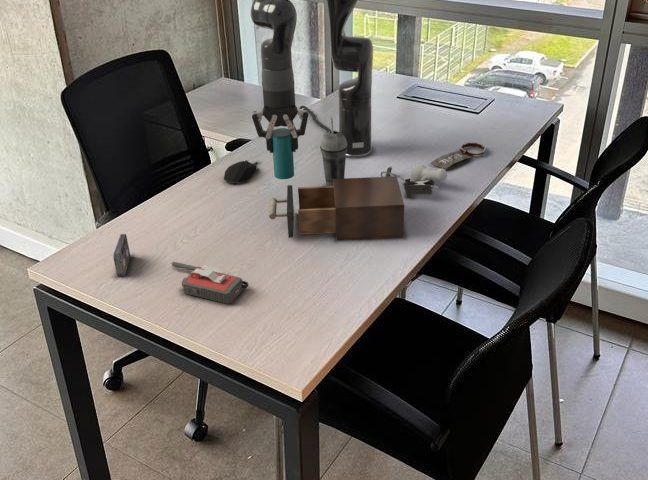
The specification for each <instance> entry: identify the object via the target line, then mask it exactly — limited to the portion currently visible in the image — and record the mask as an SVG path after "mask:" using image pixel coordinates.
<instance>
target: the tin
mask: <svg viewBox="0 0 648 480" xmlns="http://www.w3.org/2000/svg"><path fill="white" fill-rule="evenodd" d="M271 136H272V148H273V153H272V159H273V172H274V177H275V178H276V179H279V180H290V179H293V178H294V177H295V162H294V152H293V147H292V134H291V132H290V131H289V129H288V127H280V128H279V127H277V128H274V129H273V132H272V135H271Z"/></svg>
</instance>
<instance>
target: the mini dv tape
mask: <svg viewBox="0 0 648 480" xmlns="http://www.w3.org/2000/svg"><path fill="white" fill-rule="evenodd" d="M119 234H120V235H119V237H118V240H117V243H116V245H115V249H114V252H113V255H112V258H113V262H114V268H115V272H116V276H117V277H125V275H126V272H127V270H128V266H129V263H130V260H131V251H130V247H129V241H128V237H127V234H126V233H122V234H121V233H119Z"/></svg>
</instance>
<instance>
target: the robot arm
mask: <svg viewBox="0 0 648 480" xmlns="http://www.w3.org/2000/svg"><path fill="white" fill-rule="evenodd" d="M325 2H326V7H327V13H328V15H327V16H328V21H329V23H328V24H329V38H330V52H331V54H330V55H331V60H332V61H331V62H332V64H333V67H334V69H336V70H337V71H340V72H349V73H350V72H351V73H357V77H355V78H352V79H349V80H345V81H343V82H342V83H340V84H339V85H338V89H337V90H338V120H339V121H338V132H340V133H341V134H343V135H344V137H345V138H346V141H347V145H348V148H347V153H346V158H364V157H366V156H369V155H370V154H371V153H372V150H373V148H372V85H373V64H374V44H373V41H372V40H371V38H369V37H360V36H348V35H346V24H347V22H348V20H349V17H350V16H351V14H352V13H353V11H354V9H355V8H356V6H357V5H358V2H359V0H325ZM297 13H298V12H297V9H296V7H295V5H294V3H293V2H292V1H291V0H253V1H252V4H251V6H250V18H251V21H252V23H253V24H254V25H255V26H257V27H259V28H261V29H266V30H272V31H273V35H272V38H267V39H265V40H263V41H262V42H261V45H260V58H261V87H262V99H263V108H262V110H260V111H259V110H258V111H256V110H254V111H252V114H251V118H252V122H253V125H254V128H255V131H256V134H257V137H258V138H263V139H265V141H266V142H265V143H266V150H267V151H268V152H269V153H270V154H273V148H272V136H271V135H272V132H273V130H275V128H276V127H277V128H279V127H283V128H287V129H289V131H290V132H291V134H292V147H293V153H296V151H297V150H298V149H299V138H300V137H301V136H305V134H306V130H307V124H308V119H309V114H310V116H311V118H312V120H313V122H314V123H315V124H317V125H318V126H319V127H321V128H322V129H324V130H325V131H327V133H328V132H330V131H332V130H331V128H328V127H327V126H326V125H324V124H323V123H321V122H320V121H319V120H318V119H317V118H316V117H315V114H314V112H312V110H311V109H309V108H308V107H307V106H306V105H301V106H299V107H297V105H296V90H295V89H296V88H295V75H294V69H293V56H292V45H293V41H294V37H295V31H296V26H297V23H298V22H297V21H298V14H297ZM298 108H299V109H298ZM297 116H299V117H298V118H299V120H301V121H300V126H299V128H298V129H297V128H296V125H295V122H294V119H295V118H296V117H297ZM263 117H264V118H265V120H266V121H267V122H268V125H267V128H266V130H264V128H263V125H262V123H261V121H262V120H263Z"/></svg>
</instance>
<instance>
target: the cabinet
mask: <svg viewBox="0 0 648 480" xmlns="http://www.w3.org/2000/svg"><path fill="white" fill-rule="evenodd" d="M333 188H334V199H335V211H336V233H335V239H336V241H356V240H357V241H358V240H376V239H400V238H402V239H403V238H404V235H405V232H404V231H405V230H404V229H405V201H404V198H403V195H402V194H403V193H402V191H401V186H400V183H399V179H398V177H397V176H394V175H390V177H385V176H383V177H381V176H370V177H347V178H345V177H344V178H343V179H333Z"/></svg>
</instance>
